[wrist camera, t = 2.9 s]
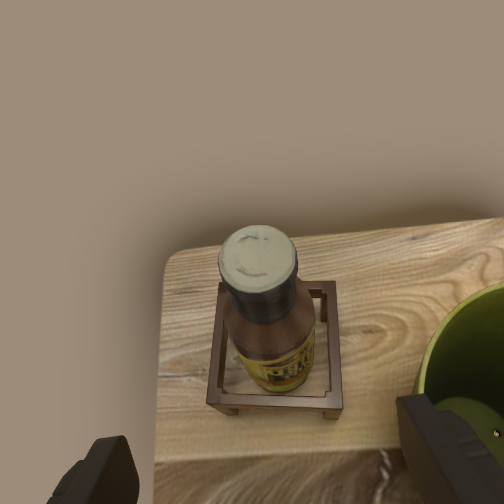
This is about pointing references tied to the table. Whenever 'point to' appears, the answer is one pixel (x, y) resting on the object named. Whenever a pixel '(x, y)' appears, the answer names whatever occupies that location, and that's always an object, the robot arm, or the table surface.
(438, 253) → the table surface
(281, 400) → the open square stand
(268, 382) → the sauce bottle
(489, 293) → the flower pot
